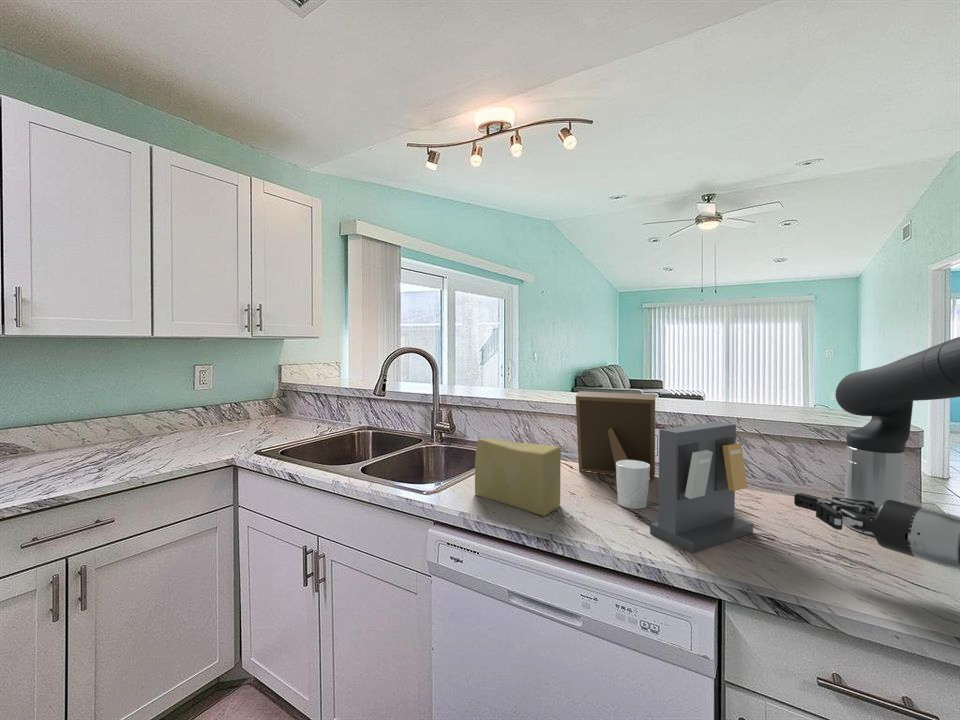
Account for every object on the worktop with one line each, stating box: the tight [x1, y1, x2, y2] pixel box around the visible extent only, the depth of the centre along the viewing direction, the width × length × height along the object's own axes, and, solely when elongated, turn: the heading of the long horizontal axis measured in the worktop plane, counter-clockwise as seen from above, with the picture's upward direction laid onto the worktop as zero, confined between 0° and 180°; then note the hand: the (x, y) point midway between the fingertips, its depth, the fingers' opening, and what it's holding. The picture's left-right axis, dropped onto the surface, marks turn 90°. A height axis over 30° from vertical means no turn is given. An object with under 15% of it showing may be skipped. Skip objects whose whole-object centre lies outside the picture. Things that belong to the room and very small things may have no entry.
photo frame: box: [575, 390, 656, 480], centre depth 131 cm, size 15×22×25 cm
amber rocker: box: [722, 442, 748, 492], centre depth 92 cm, size 4×1×9 cm, turn 118°
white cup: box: [615, 460, 650, 510], centre depth 110 cm, size 8×8×10 cm
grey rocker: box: [685, 450, 713, 499], centre depth 87 cm, size 4×1×9 cm, turn 118°
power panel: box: [649, 421, 754, 554], centre depth 93 cm, size 19×10×22 cm, turn 118°
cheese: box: [474, 437, 562, 517], centre depth 111 cm, size 22×10×15 cm, turn 56°
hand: (796, 498), depth 82 cm, fingers closed
